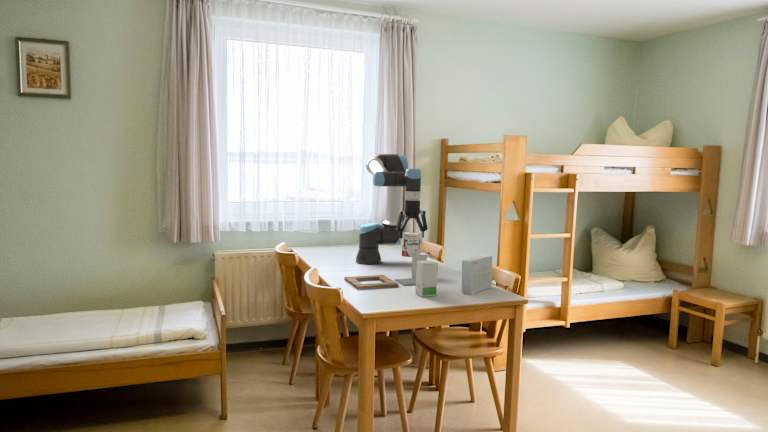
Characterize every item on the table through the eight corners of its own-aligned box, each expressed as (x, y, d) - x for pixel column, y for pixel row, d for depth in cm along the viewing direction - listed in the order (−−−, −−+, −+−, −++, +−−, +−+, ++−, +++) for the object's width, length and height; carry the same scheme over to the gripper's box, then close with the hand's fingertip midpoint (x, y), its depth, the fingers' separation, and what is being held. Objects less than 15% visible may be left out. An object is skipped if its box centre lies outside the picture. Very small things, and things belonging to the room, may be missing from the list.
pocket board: (344, 279, 274) (344, 277, 273) (383, 277, 281) (383, 274, 281) (357, 289, 254) (357, 286, 254) (398, 286, 262) (398, 283, 261)
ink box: (401, 256, 270) (401, 233, 268) (404, 254, 274) (404, 231, 273) (417, 257, 267) (418, 234, 265) (420, 256, 271) (421, 233, 270)
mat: (394, 280, 275) (394, 279, 275) (416, 279, 280) (416, 277, 280) (403, 285, 264) (403, 284, 264) (425, 284, 268) (425, 283, 268)
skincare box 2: (482, 285, 269) (483, 254, 268) (492, 287, 266) (493, 255, 264) (460, 292, 253) (461, 259, 251) (470, 295, 250) (471, 261, 248)
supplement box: (425, 278, 281) (425, 254, 280) (411, 277, 283) (411, 253, 281) (426, 275, 289) (427, 252, 287) (413, 274, 290) (413, 251, 289)
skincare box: (421, 297, 243) (422, 263, 241) (414, 293, 249) (415, 260, 247) (437, 295, 246) (438, 262, 245) (430, 292, 252) (431, 259, 251)
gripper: (395, 200, 260) (393, 246, 262) (435, 200, 268) (434, 244, 270) (389, 199, 267) (388, 244, 269) (429, 199, 275) (427, 242, 277)
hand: (411, 244), depth 270 cm, fingers closed on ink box, 9 cm apart
